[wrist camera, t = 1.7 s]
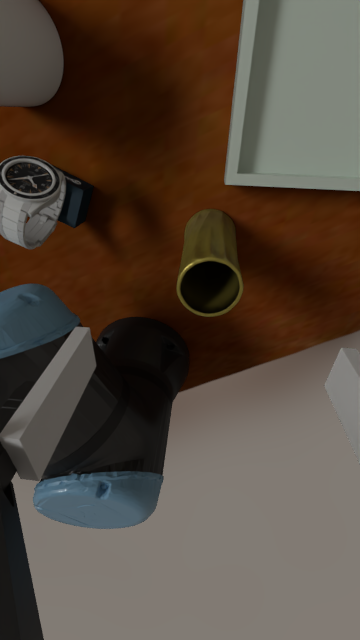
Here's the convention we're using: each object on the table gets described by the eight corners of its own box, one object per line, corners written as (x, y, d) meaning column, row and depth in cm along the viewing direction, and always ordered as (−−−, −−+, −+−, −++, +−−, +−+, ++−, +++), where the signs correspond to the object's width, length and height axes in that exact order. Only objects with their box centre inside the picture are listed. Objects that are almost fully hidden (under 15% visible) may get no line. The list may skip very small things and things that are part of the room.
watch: (98, 168, 31) (51, 182, 22) (81, 234, 35) (36, 268, 26) (48, 142, 30) (-23, 146, 21) (37, 213, 34) (-26, 242, 25)
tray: (377, 187, 29) (392, 192, 27) (224, 180, 30) (225, 184, 28) (468, -51, 21) (504, -77, 18) (248, -51, 21) (253, -75, 19)
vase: (243, 217, 32) (263, 265, 20) (224, 265, 36) (231, 330, 24) (193, 201, 32) (182, 240, 20) (178, 251, 35) (162, 310, 23)
